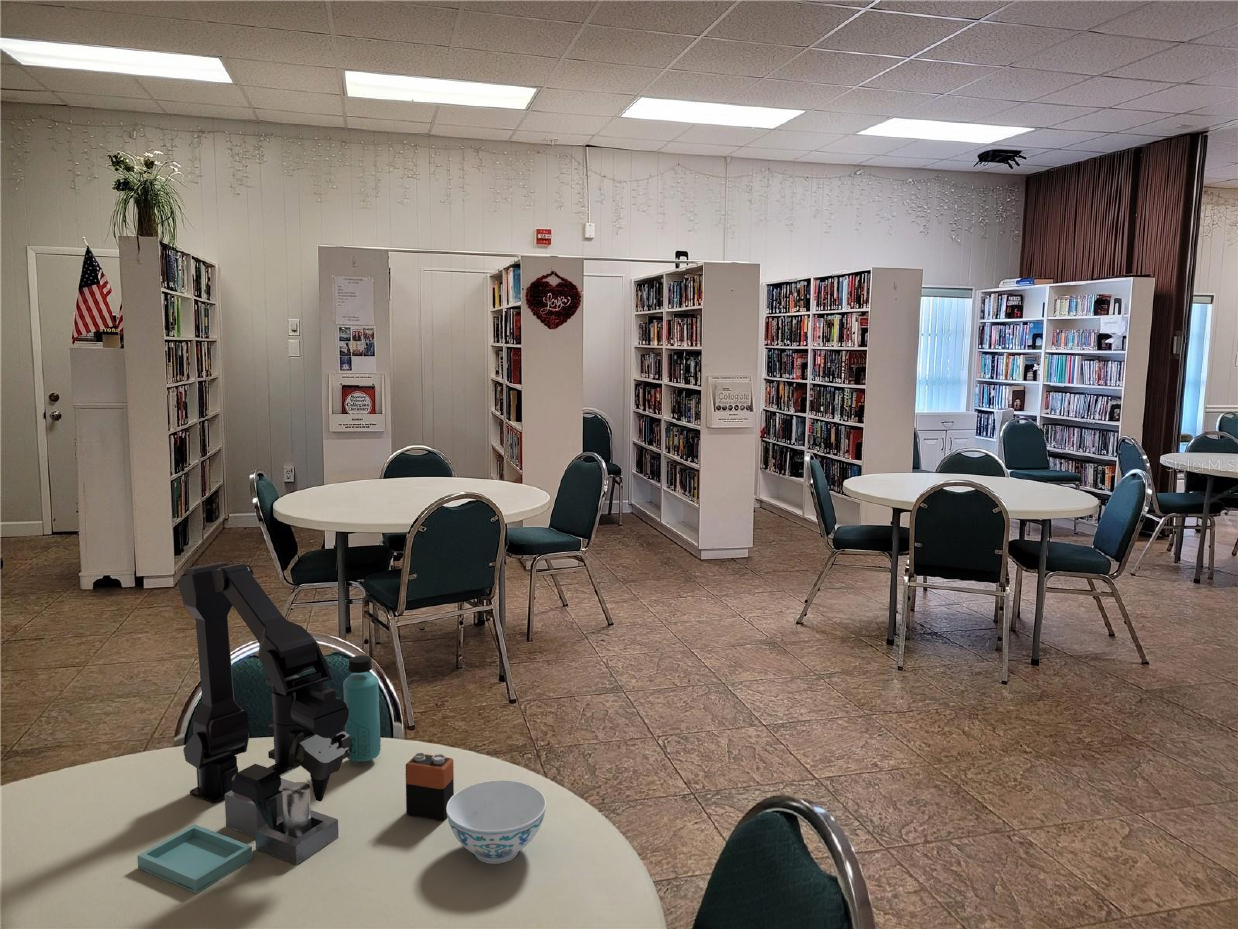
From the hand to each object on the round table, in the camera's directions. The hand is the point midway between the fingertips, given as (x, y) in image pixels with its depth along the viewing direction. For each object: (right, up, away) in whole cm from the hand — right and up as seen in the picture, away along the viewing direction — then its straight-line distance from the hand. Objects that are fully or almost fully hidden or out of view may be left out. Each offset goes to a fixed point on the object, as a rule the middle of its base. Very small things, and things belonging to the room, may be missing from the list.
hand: (296, 814), depth 137 cm
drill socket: (0, -5, +1) cm, 5 cm away
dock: (-8, -4, +7) cm, 11 cm away
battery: (+18, -4, +10) cm, 21 cm away
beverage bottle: (+2, -1, +27) cm, 27 cm away
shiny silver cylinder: (0, -5, +1) cm, 5 cm away
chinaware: (+31, -6, 0) cm, 31 cm away
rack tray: (-13, -5, -5) cm, 15 cm away
